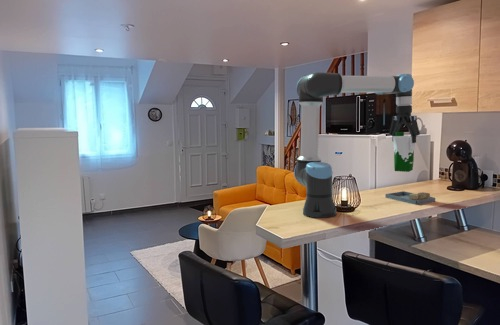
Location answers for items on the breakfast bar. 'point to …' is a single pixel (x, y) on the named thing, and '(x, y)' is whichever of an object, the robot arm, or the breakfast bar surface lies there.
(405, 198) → the tray
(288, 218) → the breakfast bar surface
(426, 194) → the oak block
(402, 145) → the soya milk
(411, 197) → the oak block
